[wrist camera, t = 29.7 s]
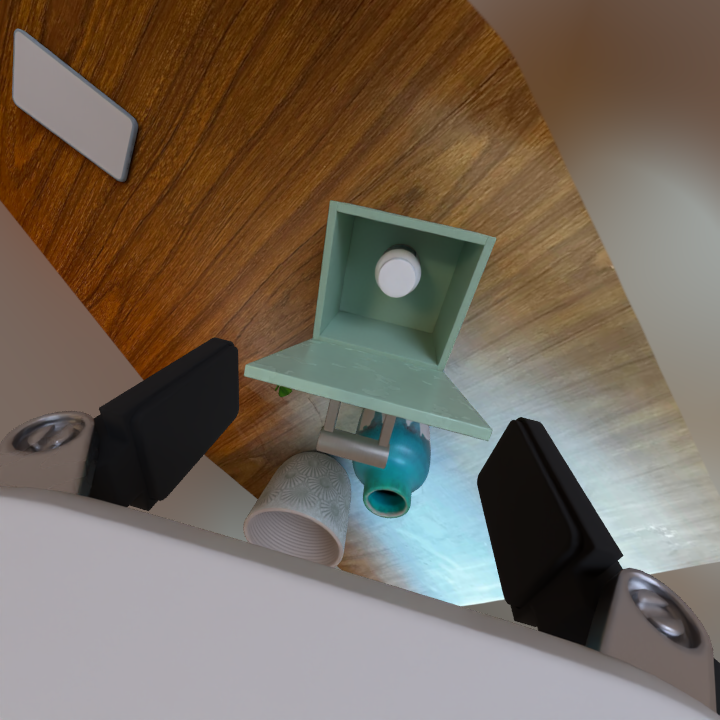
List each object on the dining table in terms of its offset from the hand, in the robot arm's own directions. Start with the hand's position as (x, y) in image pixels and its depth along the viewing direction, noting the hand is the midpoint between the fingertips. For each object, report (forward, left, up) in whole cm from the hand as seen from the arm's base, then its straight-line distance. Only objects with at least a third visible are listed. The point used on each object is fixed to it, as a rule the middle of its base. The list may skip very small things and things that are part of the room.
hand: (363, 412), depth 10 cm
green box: (+2, 0, -32) cm, 32 cm away
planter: (+42, -10, -32) cm, 54 cm away
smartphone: (-14, -43, -32) cm, 56 cm away
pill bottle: (0, 0, -32) cm, 32 cm away
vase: (+22, +3, -32) cm, 40 cm away
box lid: (+6, -1, -14) cm, 15 cm away
